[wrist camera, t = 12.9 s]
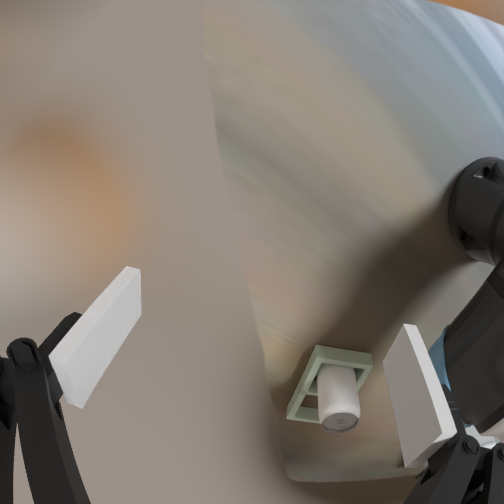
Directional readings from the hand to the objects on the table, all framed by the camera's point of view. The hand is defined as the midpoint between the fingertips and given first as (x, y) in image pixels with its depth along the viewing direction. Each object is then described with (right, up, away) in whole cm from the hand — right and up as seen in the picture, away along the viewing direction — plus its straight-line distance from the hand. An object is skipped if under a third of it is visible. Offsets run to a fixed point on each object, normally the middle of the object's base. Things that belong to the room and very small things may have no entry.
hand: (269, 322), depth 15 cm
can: (+14, -17, +36) cm, 42 cm away
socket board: (+13, -21, +38) cm, 45 cm away
